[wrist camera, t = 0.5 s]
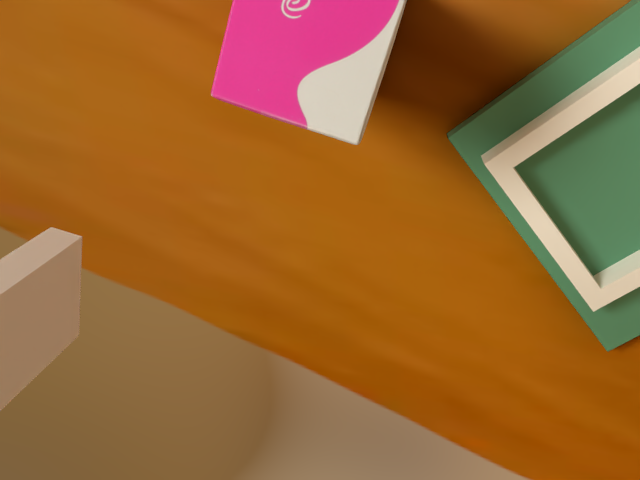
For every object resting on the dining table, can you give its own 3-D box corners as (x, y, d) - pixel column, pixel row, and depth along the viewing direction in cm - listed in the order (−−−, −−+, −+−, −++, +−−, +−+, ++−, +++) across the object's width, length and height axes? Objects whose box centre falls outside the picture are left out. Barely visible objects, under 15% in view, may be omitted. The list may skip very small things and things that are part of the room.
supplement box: (413, -20, 30) (417, -13, 19) (373, 96, 32) (358, 157, 22) (300, -58, 30) (244, -72, 19) (269, 61, 32) (205, 106, 22)
